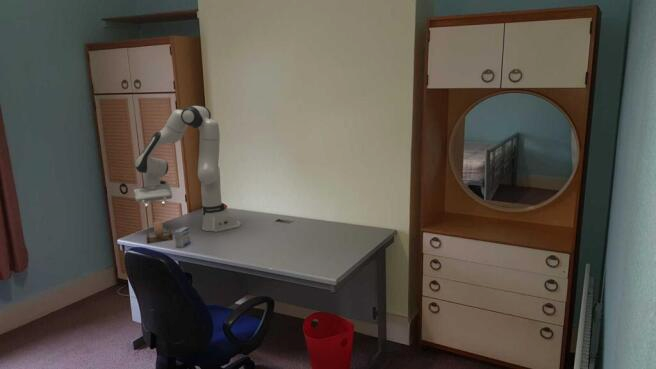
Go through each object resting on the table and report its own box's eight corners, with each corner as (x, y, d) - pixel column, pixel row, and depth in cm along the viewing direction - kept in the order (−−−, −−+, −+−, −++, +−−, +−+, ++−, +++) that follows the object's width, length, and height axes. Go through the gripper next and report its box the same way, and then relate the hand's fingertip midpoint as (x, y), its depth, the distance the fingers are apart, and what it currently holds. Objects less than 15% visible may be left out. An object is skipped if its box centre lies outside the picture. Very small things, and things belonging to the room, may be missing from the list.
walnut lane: (170, 232, 270) (170, 227, 269) (172, 239, 257) (172, 234, 256) (146, 235, 265) (146, 230, 264) (147, 243, 252) (146, 238, 251)
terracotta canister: (163, 237, 261) (161, 220, 259) (164, 239, 257) (162, 222, 255) (155, 238, 259) (153, 221, 257) (155, 241, 255) (153, 223, 253)
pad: (165, 227, 278) (165, 227, 278) (167, 232, 269) (166, 231, 269) (153, 229, 276) (153, 229, 276) (154, 234, 267) (154, 233, 267)
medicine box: (183, 247, 243) (181, 231, 242) (175, 247, 244) (173, 231, 242) (190, 242, 251) (188, 227, 249) (183, 242, 252) (181, 226, 250)
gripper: (132, 185, 266) (135, 205, 260) (170, 181, 274) (173, 200, 267) (133, 191, 271) (136, 211, 265) (170, 187, 279) (173, 206, 272)
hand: (155, 206), depth 266 cm, fingers open, 8 cm apart
